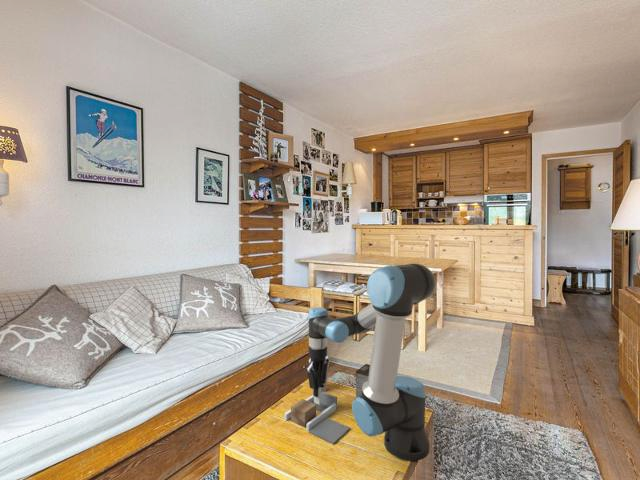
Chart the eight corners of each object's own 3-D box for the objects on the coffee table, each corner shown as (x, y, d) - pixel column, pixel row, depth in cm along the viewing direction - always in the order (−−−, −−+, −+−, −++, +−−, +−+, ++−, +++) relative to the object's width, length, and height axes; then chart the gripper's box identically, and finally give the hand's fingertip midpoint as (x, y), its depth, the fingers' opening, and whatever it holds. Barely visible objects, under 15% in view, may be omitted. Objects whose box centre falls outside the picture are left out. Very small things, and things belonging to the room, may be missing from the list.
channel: (337, 408, 141) (337, 397, 141) (308, 431, 126) (308, 418, 126) (314, 399, 148) (314, 388, 148) (284, 420, 133) (284, 407, 133)
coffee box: (365, 399, 149) (366, 363, 148) (379, 404, 145) (379, 367, 144) (355, 409, 141) (355, 370, 140) (369, 414, 137) (369, 374, 137)
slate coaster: (350, 429, 128) (350, 427, 127) (333, 444, 119) (333, 442, 119) (326, 418, 134) (326, 417, 134) (308, 432, 125) (308, 431, 125)
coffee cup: (329, 394, 153) (330, 361, 152) (308, 393, 153) (308, 361, 152) (329, 384, 163) (329, 353, 162) (309, 383, 163) (309, 352, 162)
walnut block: (316, 419, 134) (316, 404, 134) (304, 428, 128) (304, 412, 128) (302, 413, 138) (302, 398, 138) (290, 421, 132) (290, 406, 132)
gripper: (320, 339, 146) (319, 393, 148) (300, 349, 136) (300, 406, 137) (334, 343, 142) (334, 399, 143) (315, 353, 131) (315, 413, 133)
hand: (317, 402), depth 140 cm, fingers closed
